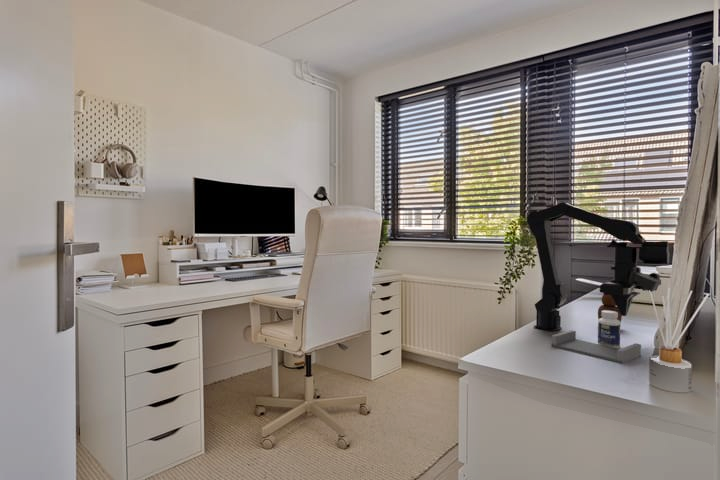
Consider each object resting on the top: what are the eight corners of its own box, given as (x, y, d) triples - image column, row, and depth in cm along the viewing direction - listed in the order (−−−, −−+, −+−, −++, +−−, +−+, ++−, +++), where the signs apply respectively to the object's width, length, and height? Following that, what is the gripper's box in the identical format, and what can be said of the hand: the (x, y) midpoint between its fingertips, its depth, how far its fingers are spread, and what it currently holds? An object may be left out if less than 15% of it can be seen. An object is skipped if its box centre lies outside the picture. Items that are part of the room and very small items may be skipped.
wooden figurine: (594, 326, 139) (595, 282, 138) (605, 324, 141) (606, 281, 141) (613, 330, 133) (614, 285, 132) (624, 329, 135) (625, 284, 135)
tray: (551, 346, 114) (551, 335, 114) (571, 340, 120) (571, 330, 120) (622, 363, 99) (622, 351, 99) (640, 355, 106) (640, 344, 106)
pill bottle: (598, 346, 114) (599, 312, 113) (597, 342, 118) (597, 309, 118) (620, 349, 111) (621, 314, 111) (618, 344, 116) (619, 311, 116)
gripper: (643, 266, 108) (642, 325, 108) (669, 264, 119) (668, 316, 119) (599, 263, 117) (598, 317, 117) (627, 261, 128) (625, 310, 128)
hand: (623, 315), depth 120 cm, fingers closed
